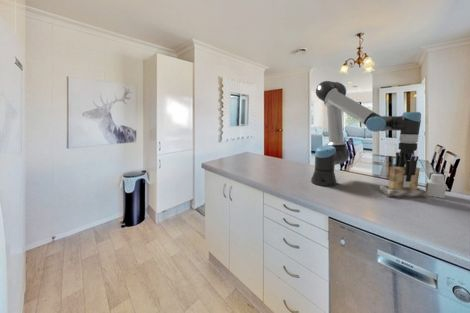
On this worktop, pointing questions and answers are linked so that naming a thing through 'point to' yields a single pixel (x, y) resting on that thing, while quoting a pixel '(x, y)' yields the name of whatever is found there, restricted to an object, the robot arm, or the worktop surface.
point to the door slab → (402, 179)
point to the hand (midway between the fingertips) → (402, 185)
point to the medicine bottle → (436, 185)
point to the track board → (403, 193)
